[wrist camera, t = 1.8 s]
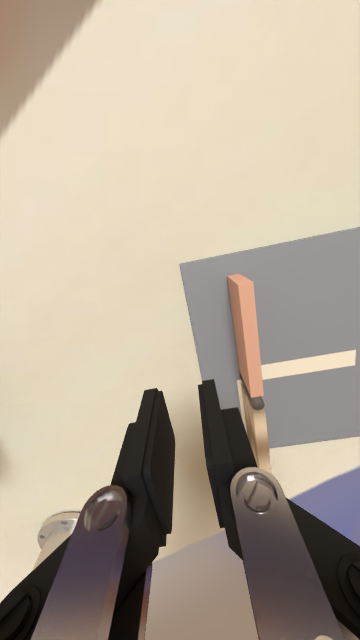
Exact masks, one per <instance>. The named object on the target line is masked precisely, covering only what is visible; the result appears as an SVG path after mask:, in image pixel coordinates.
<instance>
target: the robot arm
mask: <svg viewBox="0 0 360 640" xmlns="http://www.w3.org/2000/svg"><path fill="white" fill-rule="evenodd" d="M198 390H199V400H200V410H201V420H202V429H203V439H204V449H205V458H206V465H207V471H208V476H209V480H210V485H211V489H212V494H213V498H214V503H215V507H216V512H217V516H218V521H219V525H220V528H225V530H226V535H227V539H228V544H229V547H230V548H231V549H232V550H233V551H234V552H235V553H236V554H237V555H238V556H239V557H240V558H241V559H242V560H243V564H244V569H245V574H246V579H247V584H248V589H249V594H250V599H251V604H252V609H253V614H254V619H255V624H256V629H257V633H258V638H259V640H360V546H358V545H357V544H355V543H354V542H352V541H351V540H349V539H348V538H346V537H345V536H343V535H342V534H340V533H339V532H337V531H336V530H334V529H333V528H331V527H330V526H328V525H327V524H325V523H323V522H322V521H321V520H319V519H317V518H316V517H315V516H313V515H311V514H310V513H309V512H307V511H305V510H304V509H302V508H301V507H299V506H298V505H296V504H295V503H293V502H292V501H290V500H289V499H287V498H286V497H285V495H284V492H283V490H282V488H281V486H280V484H279V482H278V481H277V479H276V478H275V477H274V476H273V475H272V474H270V473H269V472H267V471H265V470H264V469H260V468H258V466H257V463H256V460H255V457H254V454H253V451H252V448H251V445H250V442H249V439H248V436H247V433H246V430H245V426H244V423H243V420H242V417H241V414H240V411H239V409H238V407H235V408H228V409H221V408H220V404H219V399H218V394H217V390H216V385H215V381H214V379H211V380H204V381H202V384H201V385H198ZM174 461H175V437H174V433H173V429H172V425H171V422H170V418H169V414H168V410H167V407H166V403H165V399H164V396H163V392H162V391H158V389H157V388H155V389H149V390H145V391H144V394H143V397H142V401H141V405H140V409H139V413H138V417H137V421H136V422H135V423H130V424H129V425H128V428H127V431H126V435H125V438H124V441H123V445H122V448H121V451H120V455H119V458H118V462H117V465H116V468H115V472H114V475H113V478H112V482H111V485H110V486H106V487H103V488H101V489H100V490H98V491H96V492H95V493H94V494H93V495H92V496H91V497H90V498H89V499H88V501H87V502H86V503H85V505H84V507H83V509H82V510H81V513H79V512H68V513H61V514H57V515H55V516H52V517H50V518H49V519H48V520H46V521H45V522H44V523H43V525H42V527H41V529H40V531H39V533H38V543H39V546H40V547H41V549H42V550H41V552H40V555H39V557H38V559H37V561H36V563H35V566H34V568H33V570H32V572H31V573H30V574H29V575H28V576H27V577H26V578H25V579H24V580H22V581H21V582H20V583H19V584H18V585H17V586H16V587H15V588H14V589H13V590H12V591H11V592H10V593H9V594H8V595H7V596H6V597H5V598H4V600H3V601H2V602H1V603H0V640H145V631H146V622H147V613H148V612H147V611H148V603H149V594H150V584H151V575H152V562H153V560H154V559H155V558H156V556H157V555H158V551H159V547H163V546H166V535H167V534H171V531H172V512H173V486H174Z"/></svg>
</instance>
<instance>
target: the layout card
mask: <svg viewBox="0 0 360 640" xmlns="http://www.w3.org/2000/svg"><path fill="white" fill-rule="evenodd" d="M180 268H181V273H182V279H183V284H184V289H185V294H186V299H187V304H188V309H189V314H190V319H191V325H192V330H193V335H194V340H195V345H196V350H197V355H198V360H199V365H200V370H201V376H202V381H204V380H211V379H214V381H215V385H216V390H217V394H218V399H219V404H220V408H221V409H228V408H235V407H238V409H239V411H240V414H241V417H242V420H243V423H244V426H245V430H246V433H247V428H246V420H245V413H244V405H243V397H242V390H241V383H242V381H241V378H240V371H239V364H238V356H237V348H236V341H235V333H234V325H233V318H232V310H231V302H230V295H229V287H228V279H227V276H229V275H234V274H241V275H242V276H244V277H246V278H247V279H249V280H251V281H252V282H253V284H254V295H255V306H256V316H257V327H258V338H259V349H260V359H261V370H262V381H263V392H264V396H261V397H262V399H263V401H264V404H265V406H264V411H265V413H266V424H267V435H268V446H269V448H276V447H284V446H291V445H299V444H306V443H313V442H321V441H328V440H336V439H343V438H350V437H358V436H360V227H358V228H353V229H348V230H343V231H338V232H333V233H329V234H324V235H319V236H314V237H309V238H304V239H299V240H294V241H289V242H284V243H280V244H275V245H270V246H265V247H260V248H255V249H250V250H245V251H240V252H235V253H231V254H226V255H221V256H216V257H211V258H206V259H201V260H196V261H191V262H186V263H182V264H180Z"/></svg>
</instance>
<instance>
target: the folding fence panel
mask: <svg viewBox="0 0 360 640" xmlns="http://www.w3.org/2000/svg"><path fill="white" fill-rule="evenodd" d="M227 279H228V287H229V295H230V302H231V310H232V318H233V325H234V333H235V341H236V348H237V356H238V364H239V371H240V373H241V375H242V378H243V380H244V382H245V385H246V387H247V389H248V392H249V394H250V396H251V398H253V397H259V396H264V392H263V381H262V370H261V359H260V349H259V338H258V327H257V316H256V306H255V295H254V284H253V282H252V281H251V280H249V279H247V278H246V277H244V276H242V275H241V274H234V275H229V276H227Z"/></svg>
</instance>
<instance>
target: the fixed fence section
mask: <svg viewBox="0 0 360 640" xmlns="http://www.w3.org/2000/svg"><path fill="white" fill-rule="evenodd" d="M240 378H241V381H242V383H241V390H242V397H243V405H244V413H245V420H246V428H247V436H248V439H249V442H250V445H251V448H252V451H253V454H254V457H255V460H256V463H257V466H258V468H260V469H264V470H265V471H267V472H269V473H270V474H271V467H270V456H269V446H268V435H267V424H266V413H265V411H264V406H265V404H264V401H263V399H262V397H261V396H259V397H253V398H251V396H250V394H249V392H248V389H247V387H246V385H245V382H244V380H243V378H242V375H241V373H240Z"/></svg>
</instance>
